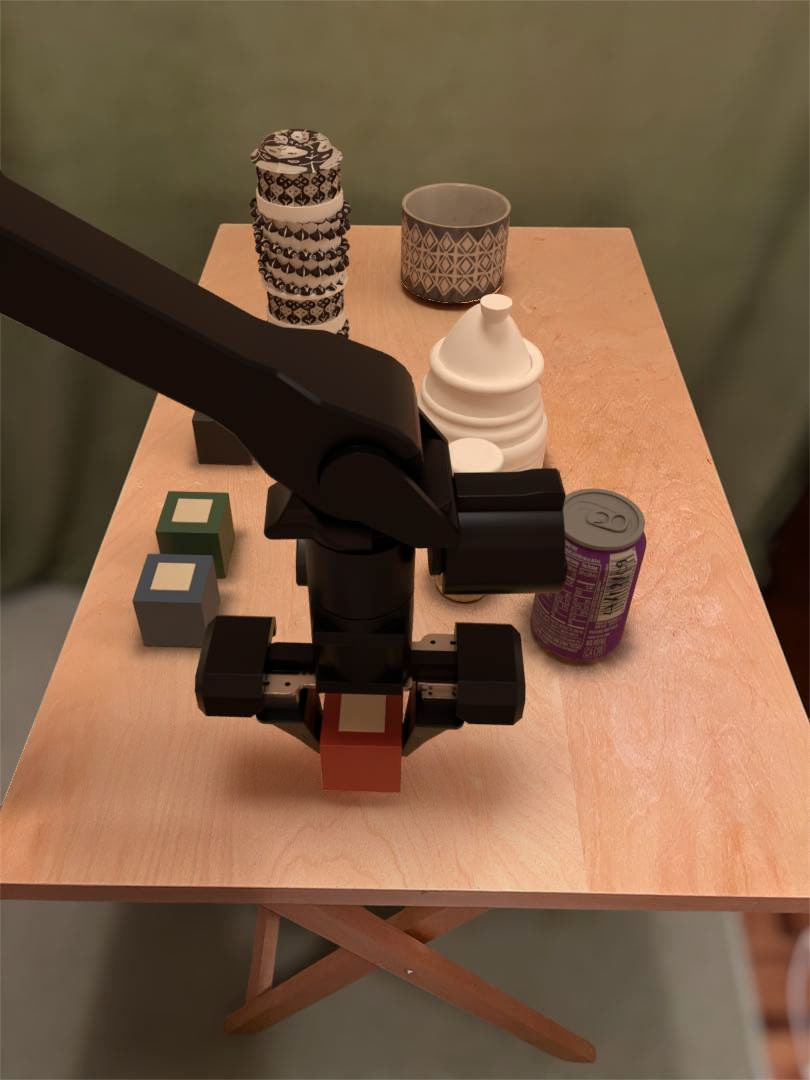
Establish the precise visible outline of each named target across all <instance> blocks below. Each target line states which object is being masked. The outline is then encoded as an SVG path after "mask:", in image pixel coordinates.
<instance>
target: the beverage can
mask: <svg viewBox="0 0 810 1080" xmlns="http://www.w3.org/2000/svg"><path fill="white" fill-rule="evenodd" d="M563 513H564V525H565V556H566V560H567V564H568V570H567V576H566V580H565V584H564V587H563V589H562V591H561V592H559V593H534V596H533V602H532V607H531V608H532V609H531V613H530V628H531V630H532V633H533V635H534V636H535V638H536V639H537V641H539V643H540V644H541V645H542V646H543V647H544V648H546V650H549V651H550V652H552V653H554V654H555V655H558V656H560V657H563V658H565V659H569V660H574V661H575V660H577V661H590V660H592V661H593V660H596V659H597V660H598V659H601V658H603V657H606V656H607V655H609V654H611V653H612V652H613V651H614V650H616V648H617V647H618V646H619V645H620V643H621V641H622V639H623V634H624V630H625V626H626V623H627V619H628V617H629V616H628V615H629V612H630V609H631V605H632V601H633V598H634V593H635V590H636V586H637V584H638V580H639V575H640V571H641V568H642V565H643V561H644V558H645V554H646V550H647V536H646V533H645V526H646V520H645V519H646V518H645V516H644V513H643V511H642V510H641V509H640V507H639V506H638V505H637V504H636V503H635V502H634V501H633V500H631V499H630V498H628V497H626V496H624V495H622V494H620V493H618V492H616V491H612V490H608V489H604V488H603V489H602V488H583V489H578V490H577V489H576V490H574V491H572V492H570V493H567V494H566V496H565V502H564V507H563Z"/></svg>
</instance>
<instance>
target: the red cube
mask: <svg viewBox="0 0 810 1080" xmlns="http://www.w3.org/2000/svg"><path fill="white" fill-rule="evenodd" d="M404 692H405V691H403V696H397V695H363V694H330V693H324V696H323V705H322V710H323V714H322V723H321V733H320V742H319V750H320V754H319V761H320V775H321V789H322V791H324V792H325V791H326V792H355V793H356V792H358V793H359V792H360V793H394V794H399V793H400V794H401V791H402V764H403V763H402V762H403V761H402V760H403V757H402V733H403V720H404Z"/></svg>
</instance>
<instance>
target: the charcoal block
mask: <svg viewBox="0 0 810 1080" xmlns="http://www.w3.org/2000/svg"><path fill="white" fill-rule="evenodd" d="M191 425H192V430H193V437H194V442H195V448H196V449H195V450H196V454H197V460H198V464H200V465H204V464H205V465H206V464H207V465H234V466H235V465H236V466H237V465H238V466H239V465H240V466H241V465H242V466H252V464H253V461H254V458H253V457H252V456H251V455H250V454H249V452H248V451H247V450H246V449H245V448H244V447H243V445H242V444H241V443H240V442H239V441H238V439H237V438H236V437H235V436H234V435H233V434H232V433H230V432H229V431H227V430H226V429H225V428H223V427H222V426H220V425H219V424H217V423H216V422H214V421H213V420H211V419H210V418H208V417H206V416H204V415H202V414H200V413H198V412H196V411H193V415H192V419H191Z"/></svg>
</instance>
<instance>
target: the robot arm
mask: <svg viewBox="0 0 810 1080" xmlns="http://www.w3.org/2000/svg"><path fill="white" fill-rule="evenodd" d="M0 315H1V316H2V317H5V318H7V319H9V320H11V321H12V322H15V323H17V324H18V325H21V326H22V327H25V328H27V329H29V330H31V331H33V332H35V333H37V334H39V335H41V336H43V337H45V338H47V339H49V340H51V341H53V342H55V343H57V344H59V345H61V346H63V347H65V348H67V349H69V350H71V351H73V352H75V353H77V354H79V355H81V356H83V357H85V358H87V359H89V360H91V361H93V362H95V363H97V364H99V365H101V366H103V367H106V369H107V368H108V369H109V370H111V371H113V372H115V373H117V374H120V375H122V376H123V377H125V378H127V379H130V380H131V381H133V382H136V383H138V384H140V385H142V386H144V387H145V388H148V389H150V390H152V391H153V392H156V393H158V394H160V395H162V396H164V397H166V398H167V399H170V400H172V401H173V402H176V403H178V404H180V405H182V406H184V407H186V408H188V409H190V410H192V411H193V412H195V411H196V412H198V413H200V414H202V415H204V416H206V417H208V418H210V419H211V420H213V421H214V422H216V423H217V424H219V425H220V426H222V427H223V428H225V429H226V430H227V431H229V432H230V433H232V434H233V435H234V436H235V437H236V438H237V439H238V441H239V442H240V443H241V444H242V445H243V447H244V448H245V449H246V450H247V451H248V452H249V454H250V455H251V456H252V457H253V461H255V462H256V464H258V466H259V467H260V468H261V470H263V472H264V473H265V475H267V476H268V477H269V478H271V479H272V480H274V481H275V483H273V484H271V485H270V486H269V487H268V489H267V494H266V505H265V513H264V514H265V515H264V525H263V535H264V537H265V538H266V539H267V540H270V541H282V540H283V541H284V540H285V541H286V540H296V541H295V546H296V548H295V584H296V585H297V586H298V587H307V592H308V593H307V594H308V607H309V622H310V635H311V642H296V641H295V642H290V641H274V642H273V638H274V637H275V636H276V635H277V630H278V629H277V628H278V627H277V618H276V616H271V615H269V616H268V615H267V616H266V615H238V614H237V615H233V614H232V615H231V614H217V616H216V617H215V618H214V619H213V620H212V621H211V622H210V623H209V624H208V625H207V629H206V633H205V637H204V642H203V646H202V647H201V651H200V655H199V658H198V662H197V668H196V670H195V674H194V675H195V676H194V696H195V699H196V705H197V708H198V709H199V711H200V712H201V713H202V714H203V715H204V716H205V717H212V718H213V717H215V718H245V719H246V718H247V719H249V718H250V719H251V718H253V717H254V716H255V719H256V721H257V722H258V723H259V724H262V725H271V726H274V727H276V728H278V729H279V730H281V731H283V732H285V733H287V734H288V735H291V736H292V737H294V738H296V740H298V741H299V742H301V743H303V744H304V745H305V746H307V747H308V748H310V749H311V750H312V751H314V752H315V753H316V754H317V755H320V750H319V742H320V733H321V723H322V714H323V705H322V701H321V697H320V694H325V693H330V694H363V695H397V696H403V697H404V695H403V691H404V692H409V693H408V697H407V701H406V707H405V711H404V714H403V733H402V758H408V757H409V756H410V755H412V753H414V752H415V751H416V750H418V749H419V748H420V747H421V746H423V745H424V744H425V743H426V742H428V741H430V740H432V739H433V738H435V737H437V736H439V735H441V734H442V733H445V732H446V731H457V730H460V729H461V728H463V727H464V724H465V723H466V724H468V725H480V726H481V725H482V726H483V725H484V726H485V725H486V726H515V725H516V724H517V723H518V722H520V721H521V719H523V716H524V711H525V706H526V705H525V704H526V697H527V696H526V695H527V693H526V692H527V691H526V689H527V684H526V673H525V664H524V663H525V662H524V654H523V643H522V634H521V632H519V630H517V628H516V627H515V626H514V625H513V624H511V623H505V622H504V623H503V622H501V623H500V622H498V623H497V622H470V621H467V622H466V621H454V627H453V633H427V634H425V635H423V637H422V638H421V640H419V641H413V631H414V611H415V577H416V576H415V575H416V554H417V553H416V551H417V549H421V550H422V549H427V550H426V551H427V552H426V555H427V568H428V574H429V577H436V576H440V575H441V574H443V575H442V593H443V594H442V593H441V594H442V595H443V596H444V595H483V594H484V595H524V594H525V595H526V594H530V595H531V594H534V595H535V593H559V592H561V591H562V589H563V587H564V584H565V580H566V576H567V570H568V564H567V560H566V556H565V525H564V513H563V507H564V502H565V496H566V495H567V494H566V490H565V487H564V484H563V479H562V476H561V473H560V470H559V469H557V468H556V467H548V468H547V467H544V468H543V467H542V468H537V469H529V470H524V471H518V472H465V473H454V474H453V473H452V466H451V458H450V451H449V444H448V440H447V439H446V437H445V436H444V435H443V434H442V433H441V432H440V431H439V429H438V428H437V427H436V426H435V425H434V424H433V423H432V421H431V420H430V419H429V418H428V417H427V416H426V415H425V413H424V412H423V411H422V410H421V409H420V408H419V406H418V402H417V391H416V386H415V383H414V381H413V376H412V375H411V373H410V372H409V371H408V369H407V367H406V366H405V365H403V363H401V362H400V361H399V360H398V359H397V358H395V357H394V356H392V355H390V354H387V353H386V352H384V351H382V350H379V349H376V348H374V347H372V346H369V345H366V344H363V343H361V342H358V341H356V340H352V339H350V338H348V339H347V338H345V337H342V336H340V335H337V334H334V333H332V332H329V331H326V330H316V329H301V328H286V327H281V326H278V325H275V324H273V323H270V322H267V320H264V319H262V318H259V317H258V316H254V315H253V314H252V313H249V312H247V311H246V310H244V309H242V308H240V307H238V306H237V305H235V304H233V303H232V302H230V301H228V300H226V299H224V298H222V297H221V296H220V295H218V294H216V293H213V292H212V291H210V290H208V289H206V288H205V287H203V286H201V285H200V284H198V283H196V282H195V281H192V280H190V279H188V278H187V277H186V276H183V275H181V274H180V273H179V272H177V271H174V270H173V269H171V268H169V267H167V266H165V265H164V264H162V263H160V262H158V261H156V260H155V259H154V258H153V259H152V258H151V257H150V256H147V255H146V254H144V253H143V252H140V251H139V250H137V249H135V248H133V247H132V246H130V245H128V244H127V243H124V241H123V242H122V241H121V240H119V239H117V238H115V237H114V236H112V235H110V234H109V233H107V232H105V231H103V230H101V229H100V228H98V227H96V226H94V225H93V224H90V223H89V222H87V221H85V220H83V219H82V218H80V217H78V216H76V215H75V214H73V213H71V212H69V211H68V210H66V209H64V208H62V207H60V206H58V205H57V204H55V203H53V202H51V201H50V200H48V199H46V198H44V197H42V196H41V195H39V194H37V193H36V192H34V191H32V190H30V189H28V188H26V187H24V185H21V184H20V183H17V182H15V180H12V179H11V178H9V177H7V175H5V174H4V173H3V171H2V170H1V169H0ZM484 595H483V596H484Z"/></svg>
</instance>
